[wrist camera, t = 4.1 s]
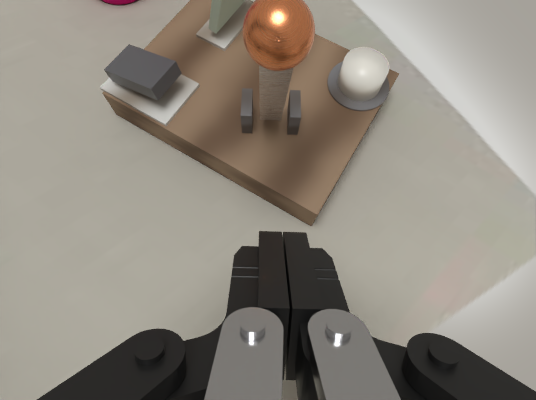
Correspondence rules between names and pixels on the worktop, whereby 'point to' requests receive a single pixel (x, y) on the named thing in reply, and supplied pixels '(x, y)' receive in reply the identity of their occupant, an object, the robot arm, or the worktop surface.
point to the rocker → (143, 71)
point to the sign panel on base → (222, 12)
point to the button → (362, 73)
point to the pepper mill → (119, 1)
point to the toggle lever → (277, 47)
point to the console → (252, 112)
